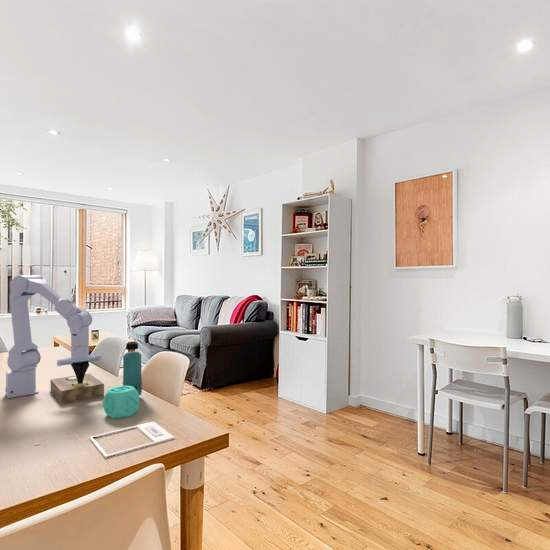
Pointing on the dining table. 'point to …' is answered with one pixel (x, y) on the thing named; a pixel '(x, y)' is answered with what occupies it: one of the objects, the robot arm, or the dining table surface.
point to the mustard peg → (79, 384)
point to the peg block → (76, 389)
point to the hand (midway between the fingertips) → (80, 382)
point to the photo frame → (148, 429)
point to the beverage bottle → (132, 368)
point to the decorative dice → (121, 401)
